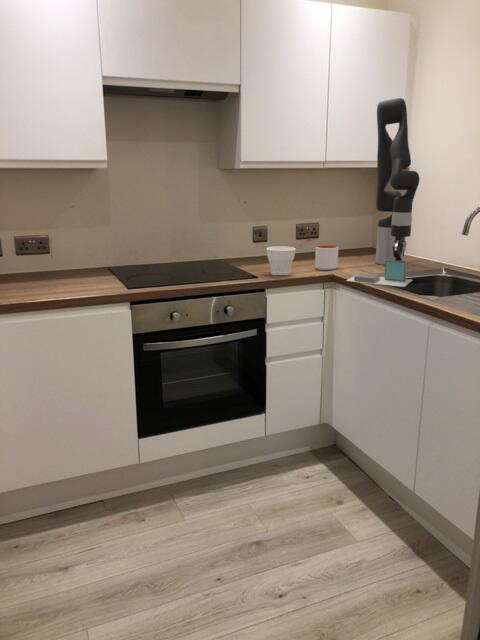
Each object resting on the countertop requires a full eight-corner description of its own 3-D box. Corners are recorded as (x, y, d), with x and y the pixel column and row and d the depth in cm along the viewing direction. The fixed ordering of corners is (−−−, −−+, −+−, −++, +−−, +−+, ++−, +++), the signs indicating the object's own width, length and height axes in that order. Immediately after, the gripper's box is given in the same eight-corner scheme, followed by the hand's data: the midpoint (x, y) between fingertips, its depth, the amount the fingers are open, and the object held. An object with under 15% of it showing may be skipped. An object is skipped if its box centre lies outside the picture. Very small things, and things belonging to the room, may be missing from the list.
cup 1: (292, 277, 215) (293, 251, 212) (263, 276, 218) (263, 250, 215) (297, 271, 227) (297, 246, 224) (269, 270, 230) (269, 245, 226)
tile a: (360, 272, 211) (354, 276, 205) (379, 274, 208) (374, 278, 201) (360, 277, 212) (354, 280, 205) (379, 279, 208) (373, 282, 201)
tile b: (385, 278, 208) (386, 259, 205) (405, 280, 205) (406, 260, 201) (384, 279, 207) (385, 260, 204) (404, 281, 203) (405, 262, 200)
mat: (357, 275, 218) (357, 274, 217) (412, 280, 206) (412, 279, 206) (345, 281, 206) (345, 280, 206) (404, 287, 195) (404, 286, 195)
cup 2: (313, 270, 229) (314, 248, 226) (316, 266, 238) (317, 244, 236) (336, 271, 227) (337, 248, 224) (338, 267, 236) (339, 245, 233)
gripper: (395, 222, 209) (392, 264, 214) (387, 225, 198) (384, 269, 203) (414, 222, 205) (411, 265, 210) (407, 225, 194) (403, 271, 199)
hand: (397, 267), depth 206 cm, fingers closed
